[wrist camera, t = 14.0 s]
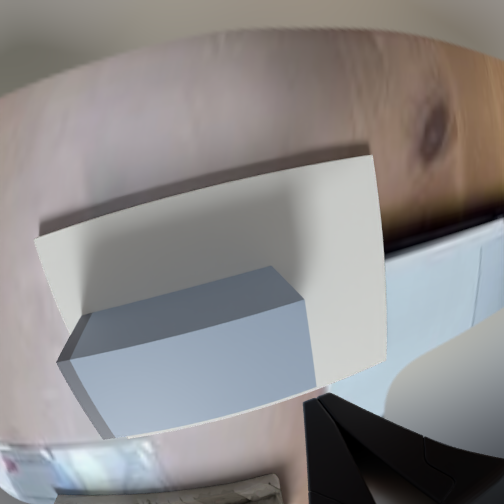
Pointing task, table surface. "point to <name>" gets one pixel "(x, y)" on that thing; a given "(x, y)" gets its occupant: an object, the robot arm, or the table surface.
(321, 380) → the mat
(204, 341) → the block
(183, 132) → the table surface
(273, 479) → the packaged product
